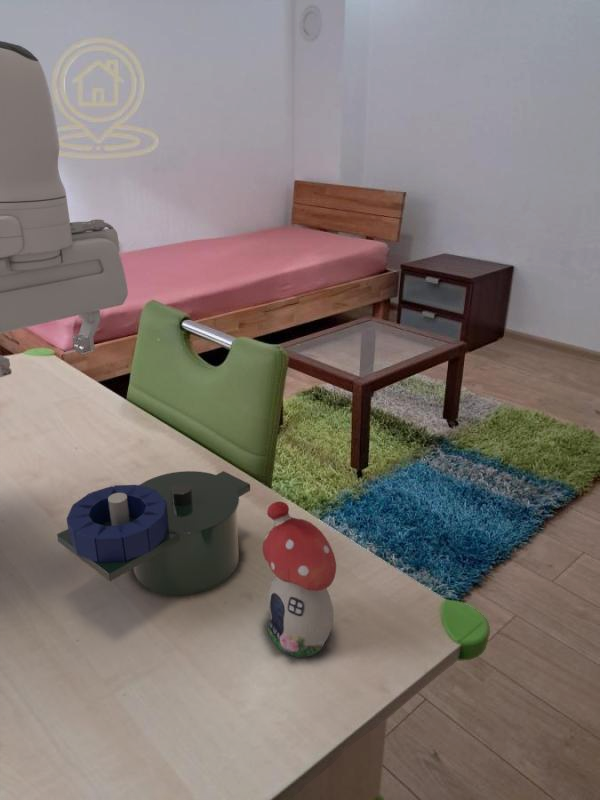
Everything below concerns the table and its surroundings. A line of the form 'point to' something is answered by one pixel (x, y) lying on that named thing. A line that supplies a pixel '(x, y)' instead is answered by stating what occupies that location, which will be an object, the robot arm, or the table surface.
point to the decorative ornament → (298, 583)
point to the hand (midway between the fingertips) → (45, 363)
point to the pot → (182, 534)
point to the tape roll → (121, 539)
